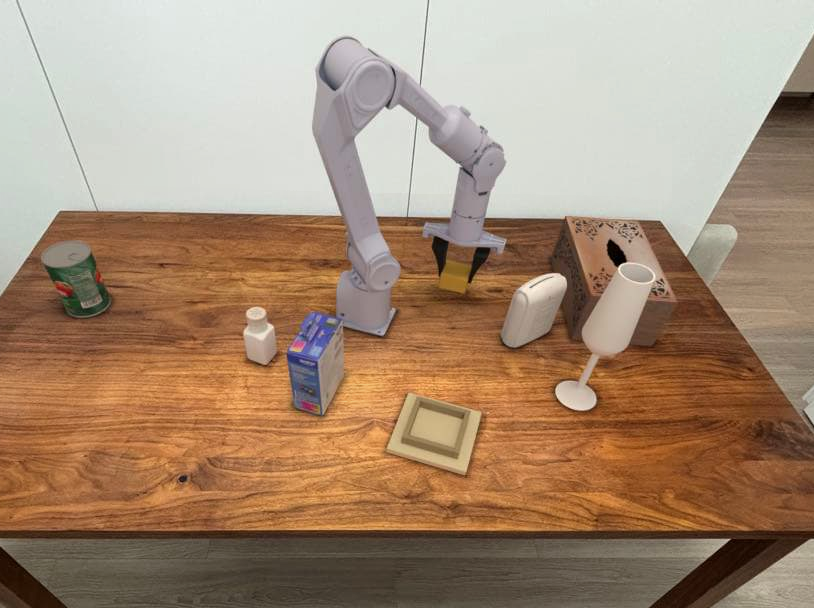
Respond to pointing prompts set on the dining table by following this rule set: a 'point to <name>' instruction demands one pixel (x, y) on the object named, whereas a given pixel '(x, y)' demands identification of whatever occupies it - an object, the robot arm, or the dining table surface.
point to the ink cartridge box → (316, 362)
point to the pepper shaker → (259, 336)
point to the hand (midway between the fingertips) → (455, 277)
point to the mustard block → (455, 276)
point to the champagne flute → (609, 328)
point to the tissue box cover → (607, 272)
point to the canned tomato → (76, 278)
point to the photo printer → (533, 309)
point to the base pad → (435, 433)
